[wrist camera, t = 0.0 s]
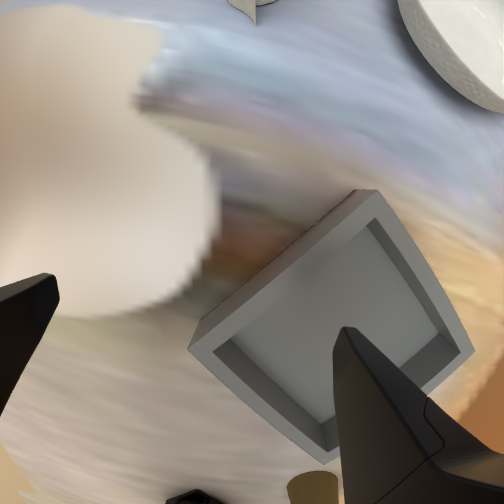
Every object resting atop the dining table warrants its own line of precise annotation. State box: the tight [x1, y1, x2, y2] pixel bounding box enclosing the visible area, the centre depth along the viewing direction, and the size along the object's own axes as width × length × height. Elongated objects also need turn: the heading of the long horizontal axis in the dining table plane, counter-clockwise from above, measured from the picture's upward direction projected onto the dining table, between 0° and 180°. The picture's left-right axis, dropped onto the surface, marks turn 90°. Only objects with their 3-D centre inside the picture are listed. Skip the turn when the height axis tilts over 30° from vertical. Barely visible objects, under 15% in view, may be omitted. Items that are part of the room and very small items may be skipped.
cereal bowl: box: [397, 0, 504, 114], centre depth 17 cm, size 17×17×7 cm
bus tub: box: [187, 190, 475, 465], centre depth 23 cm, size 16×16×5 cm
